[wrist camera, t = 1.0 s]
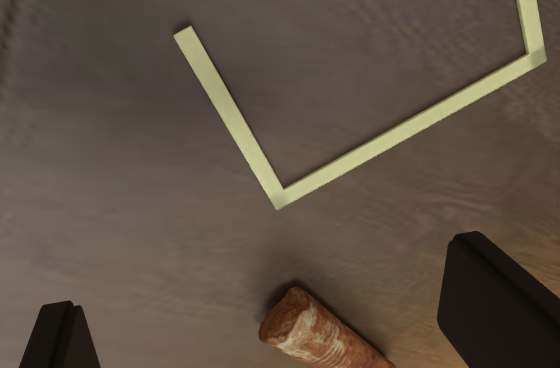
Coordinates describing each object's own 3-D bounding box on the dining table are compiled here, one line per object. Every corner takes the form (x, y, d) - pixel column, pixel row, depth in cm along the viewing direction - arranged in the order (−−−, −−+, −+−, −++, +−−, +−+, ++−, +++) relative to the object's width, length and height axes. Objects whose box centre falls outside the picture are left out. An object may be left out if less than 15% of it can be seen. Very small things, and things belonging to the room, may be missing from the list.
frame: (172, 35, 32) (172, 35, 32) (506, -153, 32) (510, -155, 31) (275, 208, 40) (276, 210, 40) (543, 60, 40) (546, 61, 39)
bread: (293, 271, 44) (309, 309, 39) (397, 355, 52) (420, 395, 47) (247, 312, 45) (257, 354, 40) (357, 388, 53) (376, 430, 48)
